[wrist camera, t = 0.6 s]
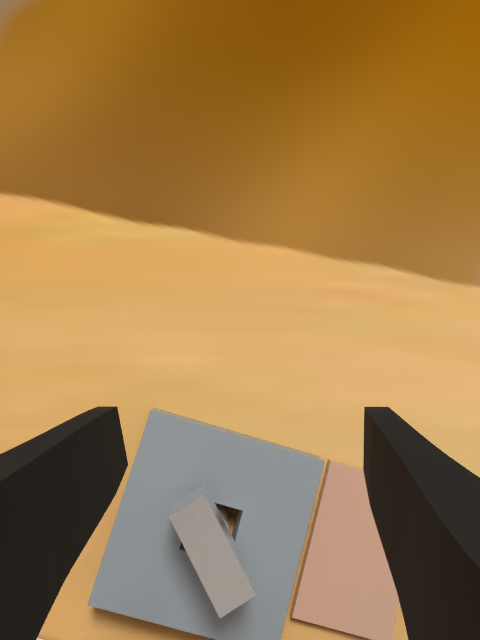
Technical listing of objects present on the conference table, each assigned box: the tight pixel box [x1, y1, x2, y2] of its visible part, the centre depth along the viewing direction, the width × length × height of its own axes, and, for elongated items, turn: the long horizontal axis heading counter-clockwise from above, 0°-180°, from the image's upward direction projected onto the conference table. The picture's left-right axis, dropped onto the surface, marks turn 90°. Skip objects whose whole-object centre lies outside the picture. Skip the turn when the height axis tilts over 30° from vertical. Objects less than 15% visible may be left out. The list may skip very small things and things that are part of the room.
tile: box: [290, 459, 399, 640], centre depth 31 cm, size 12×8×1 cm, turn 164°
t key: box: [169, 484, 256, 618], centre depth 27 cm, size 7×3×6 cm, turn 28°
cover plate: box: [88, 408, 324, 640], centre depth 29 cm, size 14×14×2 cm
